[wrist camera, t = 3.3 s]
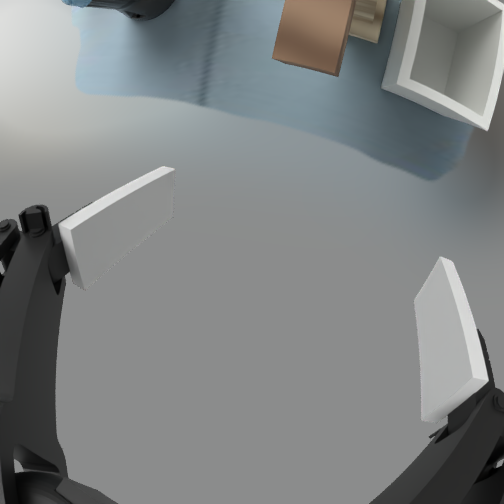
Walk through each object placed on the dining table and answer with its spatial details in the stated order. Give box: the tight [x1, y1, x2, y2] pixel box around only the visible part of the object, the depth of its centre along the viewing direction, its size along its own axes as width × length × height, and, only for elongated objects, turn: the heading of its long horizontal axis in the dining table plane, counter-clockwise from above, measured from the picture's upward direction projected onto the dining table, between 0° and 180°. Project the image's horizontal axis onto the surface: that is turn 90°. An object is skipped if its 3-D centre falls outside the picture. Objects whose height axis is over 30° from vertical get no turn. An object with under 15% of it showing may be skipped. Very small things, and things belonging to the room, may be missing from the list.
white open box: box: [381, 0, 504, 131], centre depth 25 cm, size 18×12×20 cm, turn 169°
